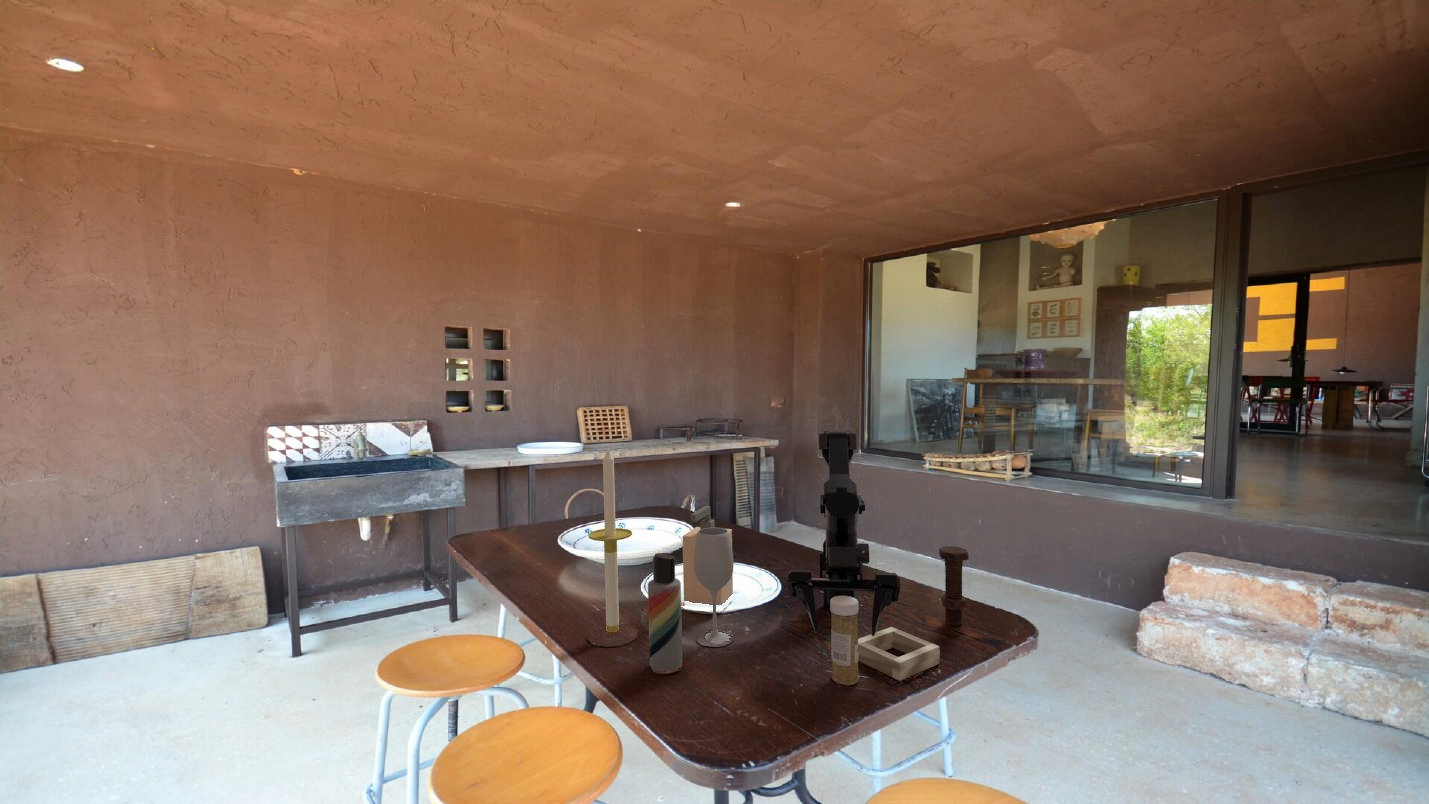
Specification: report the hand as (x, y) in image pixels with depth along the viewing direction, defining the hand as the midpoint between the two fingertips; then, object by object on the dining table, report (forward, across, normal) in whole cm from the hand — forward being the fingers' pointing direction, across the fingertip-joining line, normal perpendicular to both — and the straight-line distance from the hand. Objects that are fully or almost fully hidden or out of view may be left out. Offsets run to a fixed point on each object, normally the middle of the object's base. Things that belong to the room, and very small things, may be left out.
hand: (844, 633), depth 103 cm
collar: (0, +9, +11) cm, 14 cm away
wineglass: (-4, -24, +15) cm, 28 cm away
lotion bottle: (+5, -30, +6) cm, 32 cm away
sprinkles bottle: (+6, 0, +6) cm, 8 cm away
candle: (-3, -44, +14) cm, 46 cm away
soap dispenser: (-15, -29, +26) cm, 41 cm away
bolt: (-13, +22, +24) cm, 35 cm away
